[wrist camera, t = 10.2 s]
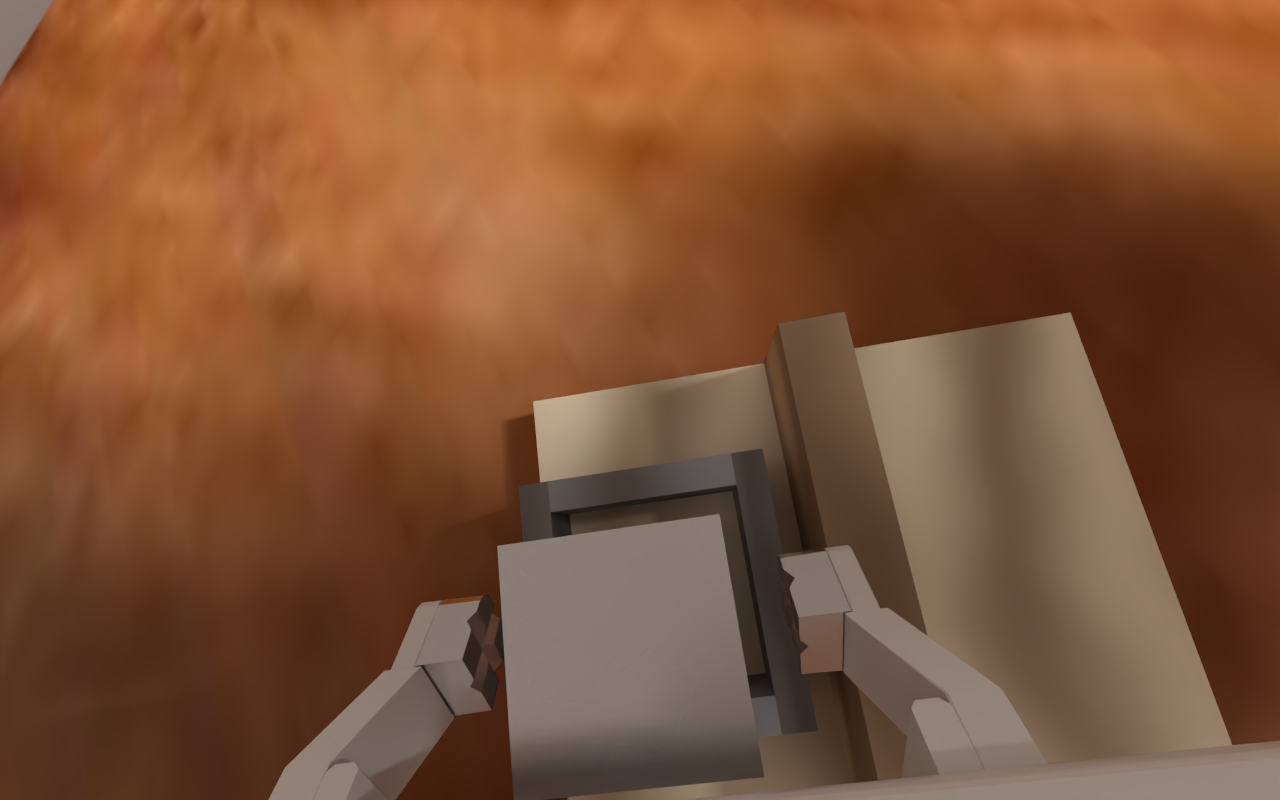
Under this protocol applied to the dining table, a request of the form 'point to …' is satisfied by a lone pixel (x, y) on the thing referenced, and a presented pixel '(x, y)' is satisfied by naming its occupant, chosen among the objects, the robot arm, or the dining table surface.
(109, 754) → the dining table surface
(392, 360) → the dining table surface
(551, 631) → the grey square block
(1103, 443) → the beige board with divider
